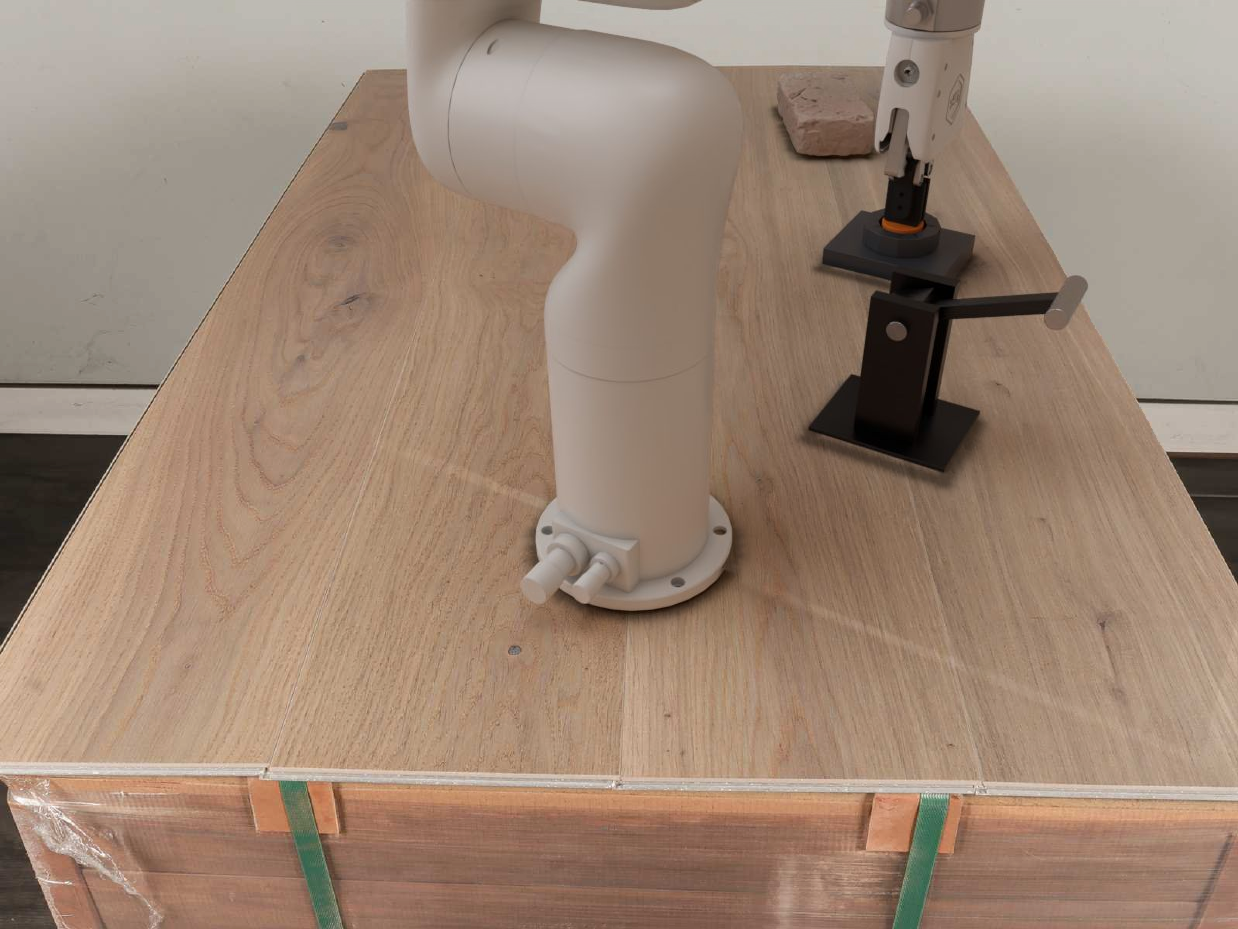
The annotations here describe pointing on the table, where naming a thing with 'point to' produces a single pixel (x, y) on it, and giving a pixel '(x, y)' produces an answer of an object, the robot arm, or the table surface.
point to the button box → (897, 248)
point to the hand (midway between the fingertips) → (903, 220)
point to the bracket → (902, 380)
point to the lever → (1010, 303)
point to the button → (901, 227)
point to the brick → (825, 114)
